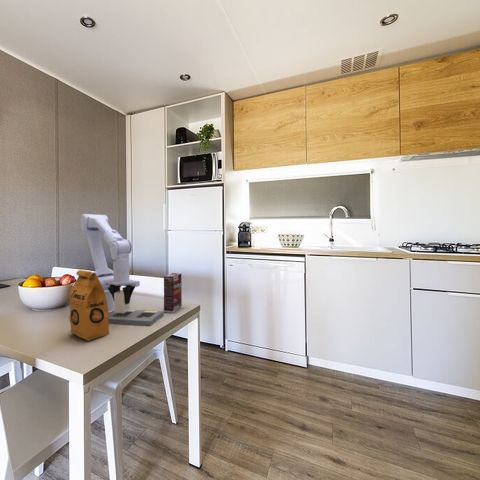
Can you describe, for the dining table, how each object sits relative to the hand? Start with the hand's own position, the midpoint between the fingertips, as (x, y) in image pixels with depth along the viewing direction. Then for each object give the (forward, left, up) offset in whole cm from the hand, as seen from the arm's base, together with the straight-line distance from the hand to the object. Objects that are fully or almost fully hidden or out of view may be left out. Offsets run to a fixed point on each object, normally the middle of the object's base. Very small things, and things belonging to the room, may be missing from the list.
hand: (122, 303), depth 97 cm
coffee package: (-2, -15, -6) cm, 16 cm away
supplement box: (+16, +13, -6) cm, 22 cm away
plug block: (0, 0, -3) cm, 3 cm away
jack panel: (+5, 0, -6) cm, 8 cm away
